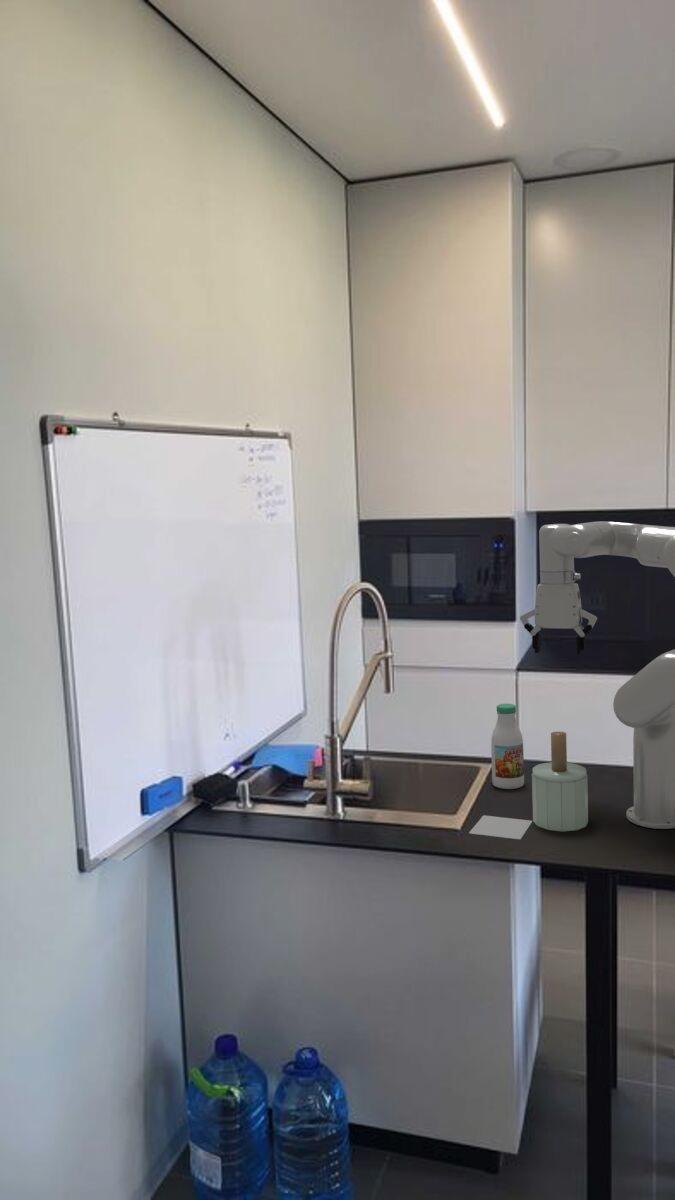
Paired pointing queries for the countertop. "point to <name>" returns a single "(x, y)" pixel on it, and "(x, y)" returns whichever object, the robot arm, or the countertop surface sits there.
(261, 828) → the countertop surface
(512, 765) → the milk bottle
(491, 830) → the mat
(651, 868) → the countertop surface
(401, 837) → the countertop surface
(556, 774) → the cylinder with wooden dowel
